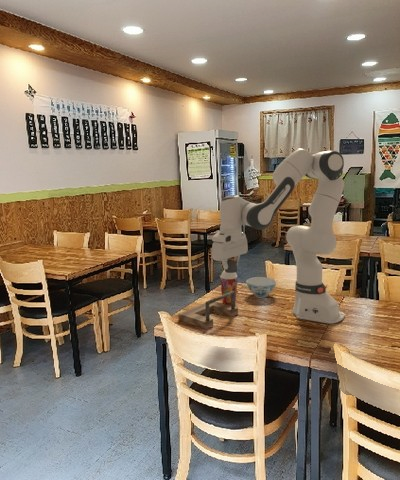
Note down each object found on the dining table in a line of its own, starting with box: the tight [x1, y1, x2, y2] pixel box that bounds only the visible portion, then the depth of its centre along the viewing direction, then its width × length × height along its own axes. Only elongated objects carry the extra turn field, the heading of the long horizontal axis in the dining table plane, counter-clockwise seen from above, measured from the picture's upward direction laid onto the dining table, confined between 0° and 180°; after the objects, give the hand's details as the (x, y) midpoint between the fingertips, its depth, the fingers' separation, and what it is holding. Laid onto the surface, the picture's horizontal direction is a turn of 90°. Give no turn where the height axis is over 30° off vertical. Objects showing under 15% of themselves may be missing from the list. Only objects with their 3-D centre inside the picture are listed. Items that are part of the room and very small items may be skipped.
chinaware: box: [245, 276, 277, 299], centre depth 208 cm, size 15×15×8 cm
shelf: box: [178, 291, 239, 330], centre depth 180 cm, size 16×22×11 cm
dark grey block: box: [224, 257, 238, 273], centre depth 170 cm, size 5×5×6 cm
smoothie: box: [219, 269, 238, 306], centre depth 197 cm, size 8×8×20 cm
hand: (230, 267), depth 170 cm, fingers closed on dark grey block, 5 cm apart
